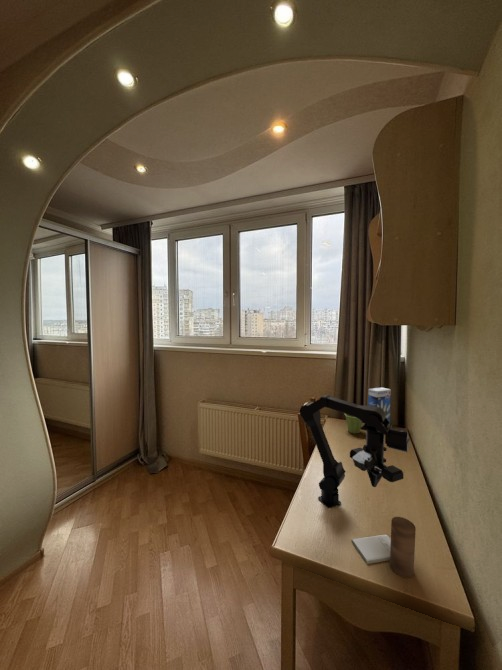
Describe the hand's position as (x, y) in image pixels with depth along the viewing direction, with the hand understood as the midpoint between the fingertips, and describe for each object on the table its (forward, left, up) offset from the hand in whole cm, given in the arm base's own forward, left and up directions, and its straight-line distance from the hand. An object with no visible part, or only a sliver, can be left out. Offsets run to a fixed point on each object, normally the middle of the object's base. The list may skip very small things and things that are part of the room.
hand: (374, 486), depth 97 cm
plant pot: (-63, +52, -12) cm, 83 cm away
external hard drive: (+10, -9, -13) cm, 19 cm away
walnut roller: (+17, -8, -12) cm, 23 cm away
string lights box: (-63, +74, -12) cm, 98 cm away
